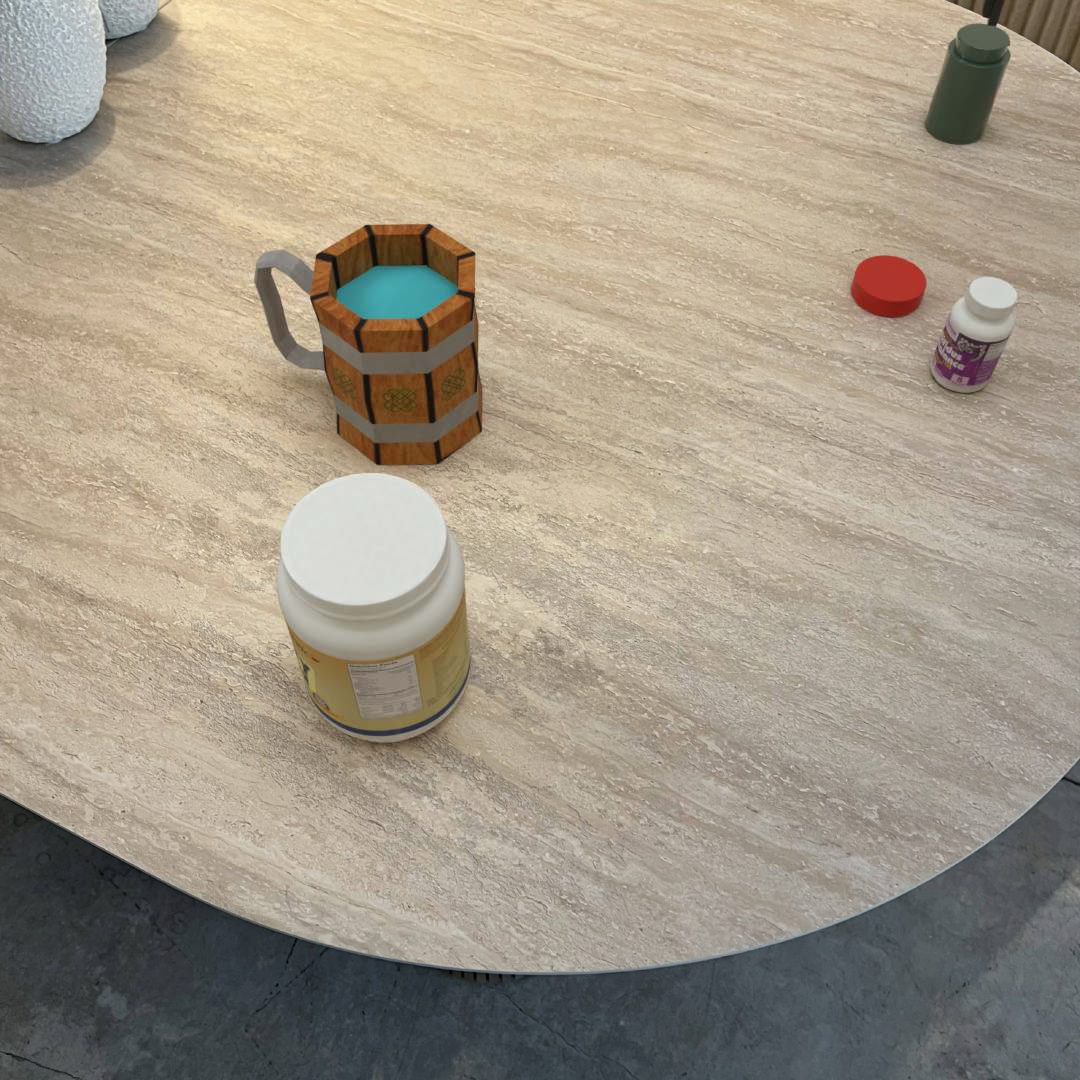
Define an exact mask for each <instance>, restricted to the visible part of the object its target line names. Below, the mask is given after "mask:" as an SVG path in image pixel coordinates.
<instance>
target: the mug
mask: <svg viewBox="0 0 1080 1080" xmlns="http://www.w3.org/2000/svg"><path fill="white" fill-rule="evenodd" d="M313 266H314V267H313V269H312V268H311V267H310V266H309V265H308V264H307V263H306V262H304V260H302V258H300V257H298V256H296V255H295V254H293V253H291V252H290V251H287V250H286V249H283V248H282V249H275V250H268V251H264V252H263V253H262V254H260V255H259V257H258V258H257V261H256V263H255V269H254V279H253V283H254V285H255V288H256V291H257V294H258V296H259V299H260V302H261V304H262V308H263V312H264V315H265V319H266V324H267V326H268V329H269V332H270V336H271V339H272V342H273V344H274V345H275V346H276V348H277V349H278V351H279V353H280V354H281V355H282V357H283V358H284V359H285V360H286V361H288V362H289V363H291V364H292V365H295V366H296V367H298V368H300V369H305V370H317V371H324V373H325V375H326V379H327V381H328V385H329V387H330V390H331V393H332V397H333V403H334V408H335V412H336V434H337V435H338V436H339V437H340V438H342V439H343V440H344V441H346V442H347V443H348V444H350V445H351V446H352V447H354V448H355V449H356V450H357V451H359V452H360V453H361V454H362V455H364V456H365V457H366V458H368V459H369V460H370V461H372V462H373V463H374V464H375V465H376V466H385V465H386V466H388V465H389V466H392V465H393V466H395V465H397V466H398V465H440V463H442V462H443V461H445V460H446V459H447V458H448V457H450V456H451V455H452V454H454V453H455V452H457V451H458V450H459V449H460V448H462V447H463V446H464V445H466V444H467V443H469V442H470V441H471V440H472V439H474V438H476V437H477V435H479V434H480V433H482V432H483V386H482V385H483V384H482V380H481V376H480V371H479V320H478V315H477V313H478V312H477V307H476V301H475V300H476V252H475V251H474V250H472V249H471V248H469V247H467V246H466V245H464V244H463V243H461V242H459V241H458V240H456V239H455V238H453V237H452V236H450V235H449V234H447V233H445V232H444V231H442V230H440V229H439V228H437V227H436V226H434V225H433V224H431V223H401V224H400V223H398V224H397V223H396V224H395V223H392V224H391V223H390V224H389V223H388V224H364V225H363V226H361V227H360V228H358V229H356V230H355V231H353V232H350V233H349V234H348V235H346V236H345V237H343V238H341V239H339V240H338V241H336V242H334V243H333V244H331V245H329V246H328V247H326V248H324V249H322V250H321V251H320V252H317V253H316V254H315V259H314V265H313ZM272 269H276V270H277V271H279V272H281V273H283V274H284V275H286V276H288V277H289V278H290V279H291V280H292V281H293V282H294V283H295V284H296V285H297V286H298V287H299V288H300V289H301V290H302V291H303V292H305V293H306V294H307V295H309V300H310V303H311V307H312V308H313V311H314V314H315V317H316V320H317V322H318V327H319V333H320V338H321V342H322V350H320V351H319V350H315V351H314V350H313V351H311V350H309V349H307V348H306V347H304V346H302V345H301V344H299V343H298V342H297V341H296V340H295V338H294V336H293V335H292V333H291V331H290V330H289V325H288V322H287V318H286V314H285V310H284V306H283V302H282V297H281V296H280V293H279V290H278V288H277V285H276V282H275V280H274V276H273V273H272V271H273V270H272Z"/></svg>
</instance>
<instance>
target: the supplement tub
mask: <svg viewBox="0 0 1080 1080" xmlns="http://www.w3.org/2000/svg"><path fill="white" fill-rule="evenodd" d="M279 548H280V556H281V557H280V560H279V562H278V567H277V573H276V593H277V601H278V605H279V608H280V610H281V613H282V615H283V618H284V621H285V624H286V628H287V630H288V633H289V637H290V640H291V643H292V646H293V649H294V652H295V655H296V659H297V663H298V665H299V669H300V672H301V676H302V679H303V682H304V683H303V684H304V687H305V691H306V694H307V697H308V699H309V700H310V702H311V704H312V706H313V707H314V708H315V710H316V712H318V713H319V715H320V716H321V717H322V718H324V720H325V721H326V722H327V723H329V724H330V725H331V726H333V727H334V728H335V729H336V730H338V731H340V732H341V733H344V734H346V735H348V736H350V737H353V738H355V739H359V740H363V741H368V742H373V743H374V742H375V743H396V742H401V741H405V740H408V739H412V738H415V737H417V736H419V735H422V734H424V733H426V732H427V731H429V730H431V729H433V728H434V727H436V726H437V725H438V724H439V723H441V722H442V721H443V720H444V719H445V718H447V716H448V715H450V713H451V712H452V711H453V710H454V709H455V707H456V706H457V705H458V703H459V702H460V701H461V699H462V697H463V695H464V693H465V691H466V689H467V685H468V683H469V680H470V676H471V671H472V650H471V646H470V645H471V644H470V636H469V635H470V634H469V622H468V610H467V598H466V597H467V596H466V584H465V583H466V567H465V561H464V557H463V553H462V551H461V547H460V545H459V543H458V541H457V539H456V537H455V535H454V533H453V532H452V530H451V529H450V528H449V527H448V525H447V523H446V519H445V517H444V514H443V512H442V509H441V507H440V506H439V505H438V503H437V502H436V500H435V499H434V498H433V497H432V496H431V494H429V493H428V492H427V491H426V490H425V489H423V488H422V487H420V486H419V485H418V484H415V483H414V482H412V481H410V480H408V479H405V478H402V477H400V476H396V475H392V474H387V473H381V472H362V473H360V472H359V473H353V474H348V475H343V476H339V477H337V478H333V479H331V480H329V481H327V482H324V483H322V484H321V485H319V486H316V488H314V489H312V490H311V491H310V492H309V493H307V494H306V495H305V496H303V498H301V499H300V500H299V501H298V502H297V503H296V504H295V506H294V507H293V508H292V510H291V511H290V512H289V514H288V516H287V518H286V520H285V521H284V524H283V527H282V530H281V534H280V541H279Z"/></svg>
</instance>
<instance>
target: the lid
mask: <svg viewBox="0 0 1080 1080" xmlns="http://www.w3.org/2000/svg"><path fill="white" fill-rule="evenodd" d="M926 288H927V278H926V275H925V273H924V272H923V270H922V269H921V268H920V267H919V266H917V265H916V264H915V263H914V262H912V261H910V260H908V259H905V258H903V257H901V256H896V255H886V254H883V255H873V256H870V257H867V258H866V259H864V260H862V261H861V262H860V263H859V264H858V265H857V266H856V269H855V272H854V276H853V279H852V282H851V286H850V294H851V296H852V299H853V300H854V302H855V303H856V304H857V305H858V306H859V307H860V308H862V309H863V310H865V311H866V312H869V313H870V314H873V315H876V316H880V317H885V318H901V317H904V316H907V315H910V314H912V313H913V312H915V311H917V309H918V308H919V306H920V305H921V302H922V299H923V297H924V293H925V292H926Z"/></svg>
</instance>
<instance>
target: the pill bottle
mask: <svg viewBox="0 0 1080 1080" xmlns="http://www.w3.org/2000/svg"><path fill="white" fill-rule="evenodd" d="M1017 301H1018V292H1017V291H1016V289H1015V287H1014V286H1013V285H1012V284H1011V283H1009V282H1007V281H1006V280H1003V279H1002V278H998V277H995V276H982V277H978V278H976V279H973V281H972V282H971V283H970V284H969V286H968V288H967V290H966V293H965V295H964V296H962V297H960V298H959V299H958V300H957V301H956V302H955V303H954V304H953V306H952V308H951V309H950V312H949V315H948V317H947V319H946V322H945V325H944V327H943V330H942V333H941V335H940V337H939V340H938V343H937V345H936V347H935V349H934V354H933V355H932V358H931V361H930V372H931V374H932V376H933V378H934V379H935V381H936V382H937V383H938V384H940V385H941V386H942V387H943V388H945V389H947V390H949V391H952V392H955V393H961V394H968V393H974V392H977V391H980V390H982V389H984V388H985V387H986V386H987V384H988V383H989V382H990V380H991V378H992V376H993V374H994V371H995V369H996V367H997V365H998V363H999V361H1000V359H1001V356H1002V354H1003V352H1004V350H1005V348H1006V345H1007V343H1008V341H1009V339H1010V338H1011V335H1012V333H1013V330H1014V327H1015V323H1016V321H1015V315H1014V309H1015V306H1016V304H1017Z"/></svg>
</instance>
